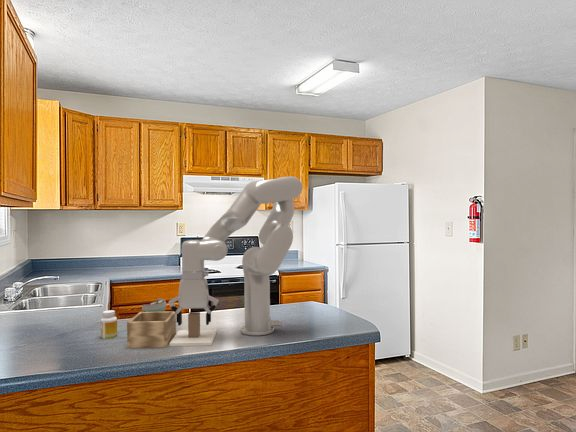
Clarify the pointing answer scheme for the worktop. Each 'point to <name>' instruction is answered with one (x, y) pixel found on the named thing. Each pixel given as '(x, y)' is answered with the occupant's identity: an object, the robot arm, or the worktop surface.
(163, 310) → the food container
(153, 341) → the oak box
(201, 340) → the lid
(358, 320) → the worktop surface
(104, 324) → the supplement bottle
